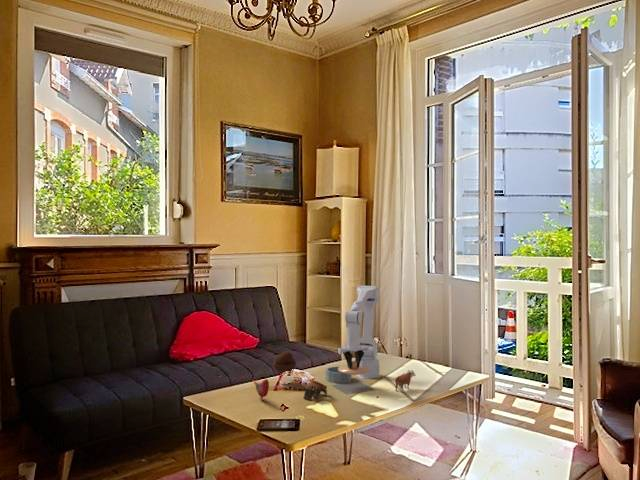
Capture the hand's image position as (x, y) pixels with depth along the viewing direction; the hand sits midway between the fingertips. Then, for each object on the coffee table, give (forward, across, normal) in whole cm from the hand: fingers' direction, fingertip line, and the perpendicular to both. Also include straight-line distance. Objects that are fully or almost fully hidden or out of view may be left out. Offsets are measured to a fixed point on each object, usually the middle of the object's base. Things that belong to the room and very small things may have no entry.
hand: (353, 367), depth 248 cm
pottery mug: (+10, -21, -6) cm, 24 cm away
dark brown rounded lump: (+10, -25, +21) cm, 34 cm away
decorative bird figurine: (+10, -43, +2) cm, 44 cm away
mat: (+9, 0, 0) cm, 9 cm away
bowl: (+9, 0, +15) cm, 18 cm away
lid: (+2, 0, 0) cm, 2 cm away
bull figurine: (+10, +20, -11) cm, 25 cm away
